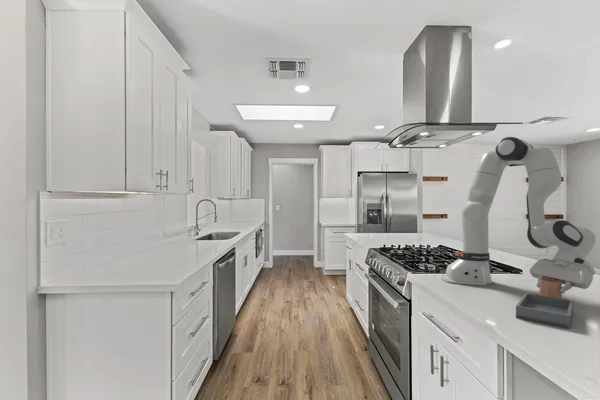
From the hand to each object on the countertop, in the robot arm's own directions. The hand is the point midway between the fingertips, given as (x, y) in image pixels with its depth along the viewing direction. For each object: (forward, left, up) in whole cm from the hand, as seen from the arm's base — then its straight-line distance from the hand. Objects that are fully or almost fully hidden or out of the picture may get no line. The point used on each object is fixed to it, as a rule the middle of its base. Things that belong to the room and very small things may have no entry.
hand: (549, 289), depth 125 cm
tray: (-10, -15, -5) cm, 18 cm away
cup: (+1, 0, -5) cm, 5 cm away
